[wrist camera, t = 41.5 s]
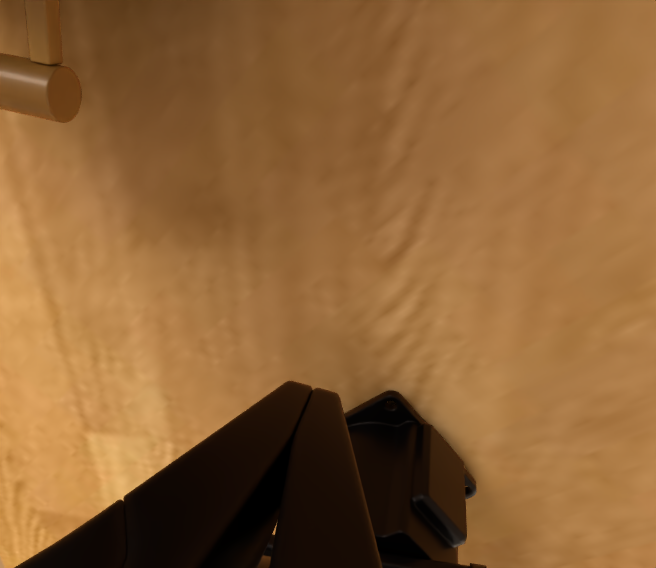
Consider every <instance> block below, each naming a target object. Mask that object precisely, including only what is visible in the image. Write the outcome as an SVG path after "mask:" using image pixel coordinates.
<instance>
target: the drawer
mask: <svg viewBox="0 0 656 568" xmlns="http://www.w3.org/2000/svg"><path fill="white" fill-rule="evenodd" d="M24 1H25V12H26V22H27V33H28V43H29V54H30V59H28V58H23V57H18V56H14V55H9V54H4V53H0V109H3V110H8V111H12V112H16V113H21V114H25V115H30V116H34V117H39V118H43V119H48V120H52V121H57V122H61V123H65V122H69V121H71V120H72V119H73V118H74V117H75V116H76V115H77V113H78V111H79V108H80V105H81V98H82V92H81V85H80V82H79V79H78V77H77V75H76V74H75V72H74V71H73V70H71V69H70V68H68V67H66V66H61V65H56V64H62V63H63V56H62V41H61V26H60V11H59V0H24Z"/></svg>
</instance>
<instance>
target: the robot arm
mask: <svg viewBox="0 0 656 568" xmlns="http://www.w3.org/2000/svg"><path fill="white" fill-rule="evenodd" d="M387 401H394V402H395V403H396V404H393V405H392V404H389V403H387ZM465 486H468V487H465ZM475 494H476V481H475V479H474V478H473V477H472V476H471V475H470V474H469V472H468V471H467V470H466V469H465V468H464V462H463V461H462V459H461V458H460V457H459V456H458V455H457V454H456V452H455V451H454V450H453V449H452V448H451V447H450V446H449V444H448V443H447V442H446V441H445V440H444V439H443V437H442V436H441V435H440V434H439V433H438V432H437V431H436V429H435V428H434V427H433V426H432V425H430V424H428V423H425V422H424V421H423V419H422V418H421V417H420V416H419V415H418V414H417V413H416V411H415V410H414V409H413V408H412V407H411V406H410V405H409V403H408V402H407V401H406V400H405V399H404V398H403V396H402V395H401V394H399V393H398V392H396V391H386V392H384V393H382V394H380V395H378V396H376V397H374V398H372V399H371V400H369V401H367V402H365V403H363V404H361V405H359V406H358V407H356V408H354V409H352V410H350V411H348V412H347V413H345V414H344V412H343V408H342V404H341V400H340V397H339V395H338V394H337V393H335V392H332V391H328V390H324V389H321V388H315V389H314V390H312V387H311V386H309V385H306V384H302V383H298V382H295V381H287V382H285V383H284V384H283V385H281V386H280V387H278V388H277V389H276V390H274V391H273V392H271V393H270V394H268V395H267V396H266V397H264V398H263V399H261V400H260V401H259V402H257V403H256V404H254V405H253V406H251V407H250V408H249V409H247V410H246V411H244V412H243V413H242V414H240V415H239V416H237V417H236V418H234V419H233V420H232V421H230V422H229V423H227V424H226V425H224V426H223V427H222V428H220V429H219V430H217V431H216V432H215V433H213V434H212V435H210V436H209V437H207V438H206V439H205V440H203V441H202V442H200V443H199V444H198V445H196V446H195V447H193V448H192V449H190V450H189V451H188V452H186V453H185V454H183V455H182V456H181V457H179V458H178V459H176V460H175V461H173V462H172V463H171V464H169V465H168V466H166V467H165V468H163V469H162V470H161V471H159V472H158V473H156V474H155V475H154V476H152V477H151V478H149V479H148V480H146V481H145V482H144V483H142V484H141V485H139V486H138V487H137V488H135V489H134V490H132V491H131V492H129V493H128V494H127V495H125V496H124V502H123V500H118V501H116V502H115V503H113V504H112V505H111V506H109V507H108V508H106V509H105V510H103V511H102V512H101V513H99V514H98V515H96V516H95V517H93V518H92V519H90V520H89V521H87V522H86V523H84V524H83V525H81V526H80V527H78V528H77V529H75V530H74V531H72V532H71V533H69V534H68V535H66V536H65V537H64V538H62V539H61V540H59V541H58V542H56V543H54V544H53V545H51V546H49V547H48V548H46V549H44V550H43V551H41V552H39V553H38V554H36V555H34V556H33V557H31V558H29V559H28V560H26V561H25V562H23V563H21V564H20V565H18V566H16V567H15V568H486V566H485V565H478V564H472V563H470V566H466V565H460V564H458V546H459V545H462V544H465V541H466V538H467V525H466V501H465V499H468V498H470V497H472V496H474V495H475ZM277 520H278V521H277ZM276 523H277V527H276V532H275V535H273V534H272V533H273V531H274V528H275V526H276Z"/></svg>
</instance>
